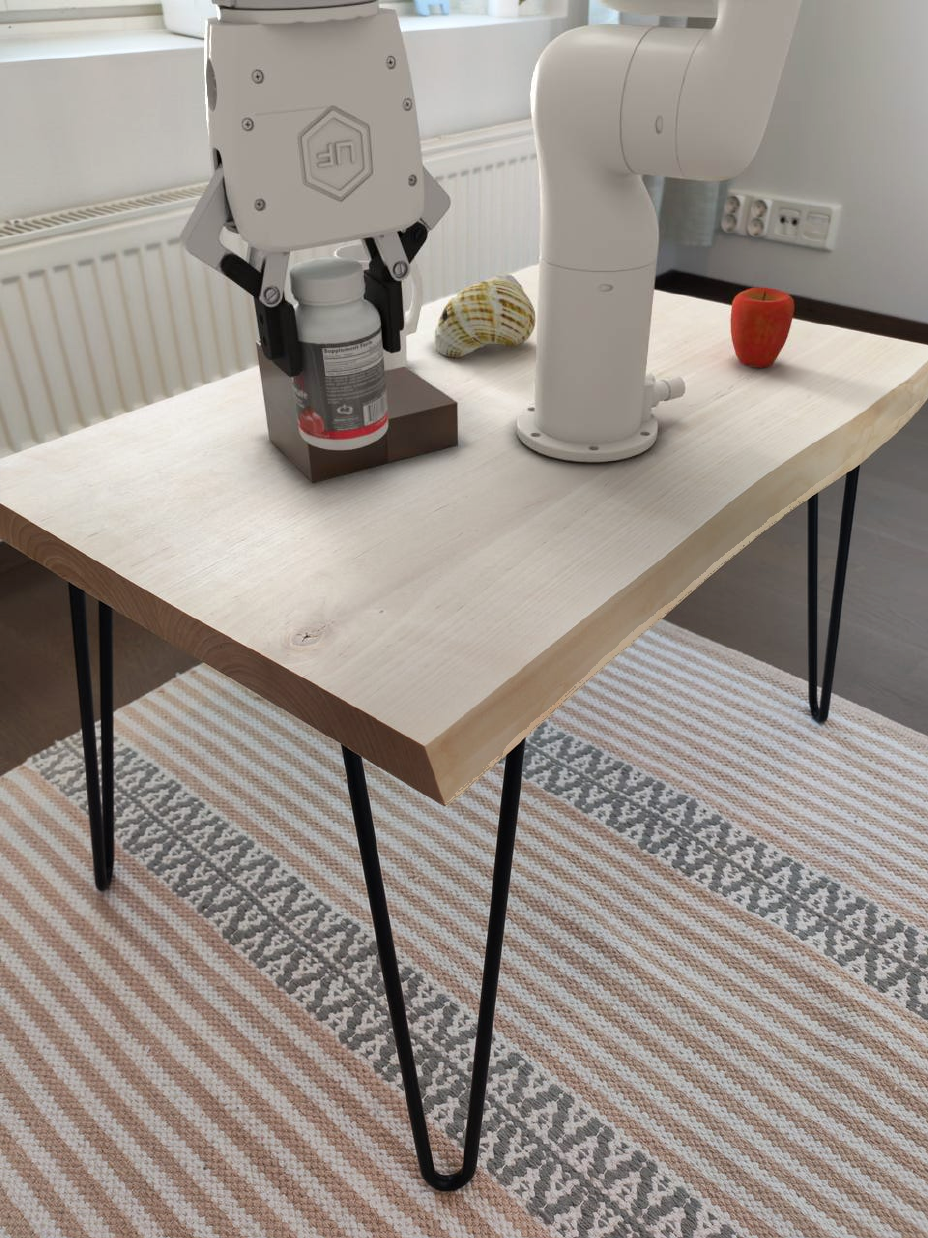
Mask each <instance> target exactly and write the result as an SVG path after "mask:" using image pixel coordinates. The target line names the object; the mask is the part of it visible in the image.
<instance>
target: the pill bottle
mask: <svg viewBox="0 0 928 1238" xmlns="http://www.w3.org/2000/svg"><path fill="white" fill-rule="evenodd" d="M289 283H290V284H289V285H290V293H291V295H292V297H293V299H294V300H295V301H296V302H297V303H296V304H293V307H294V310H295V317H296V325H297V332H298V340H299V348H300V355H301V363H302V372H300V375H298V376H294V377H292V383H293V391H294V398H295V405H296V413H297V420H298V425H299V431H300V435H301V436H302V438H303V439H304V440H305V441H306V442H308V443H309V444H311V445H313V446H316V447H319V448H323V449H329V450H350V449H356V448H360V447H363V446H366V445H369V444H371V443H373V442H375V441H377V440H378V439H380V438H381V437H382V436H383V435H384V434H385V433H386V431H387V429H388V409H387V395H386V383H385V370H384V358H383V345H382V344H383V339H382V333H381V321H380V315H379V312H378V310H377V309H376V307H375V306H374V305H373V304H372V303H370V302H369V301H367V300H365V299H362V296H363V295H364V293H365V282H364V276H363V268H362V265H361V264H360V263H359V262H357V261H355V260H352V259H347V258H339V257H334V256H331V257H328V256H327V257H317V258H311V259H307V260H304V261H300V262H298V263H295V264H294V265H292V266H291V267H290V269H289Z"/></svg>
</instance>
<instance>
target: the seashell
mask: <svg viewBox="0 0 928 1238" xmlns="http://www.w3.org/2000/svg"><path fill="white" fill-rule="evenodd" d="M535 326H536V311H535V307H534V305H533V303H532V301H531V299H530V298H529V296H528V295H527V294H526V293H525V291H524V288H523V286H522V284H520V282H519V281H518V280H517V278H515V277H514V276H513V275H512V274H508V273H507V274H500V275H493V276H492V277H489V278H488V279H487V280H485V281H481V282H478V283H475V284H472V285H470V286H468V287H466V288H465V289H463V290H462V291H460V292H459V293H458V294H457V295H456V296H454V297H452V298H451V299H449V301H448V303H447V304H446V305H445V306H444V308H443V310H442V311H441V314H440V316H439V318H438V321H437V324H436V326H435V330H434V344H435V350H436V352H437V353H438V354H440V355H443V356H444V357H445V356H446V357H449V358H461V357H464V356H466V355H468V354H471V353H472V352H474V351H476V350H477V349H479V348H481V347H485V346H486V345H499V346H503V347H504V346H505V347H514V346H518V345H520V344H523V343H524V342H525V341H527V340H528V339H529V338H530V337H531V335H532V334H533V331H534V329H535Z"/></svg>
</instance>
